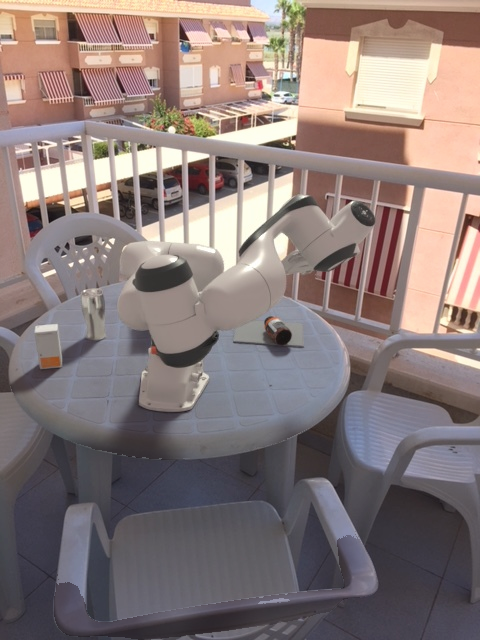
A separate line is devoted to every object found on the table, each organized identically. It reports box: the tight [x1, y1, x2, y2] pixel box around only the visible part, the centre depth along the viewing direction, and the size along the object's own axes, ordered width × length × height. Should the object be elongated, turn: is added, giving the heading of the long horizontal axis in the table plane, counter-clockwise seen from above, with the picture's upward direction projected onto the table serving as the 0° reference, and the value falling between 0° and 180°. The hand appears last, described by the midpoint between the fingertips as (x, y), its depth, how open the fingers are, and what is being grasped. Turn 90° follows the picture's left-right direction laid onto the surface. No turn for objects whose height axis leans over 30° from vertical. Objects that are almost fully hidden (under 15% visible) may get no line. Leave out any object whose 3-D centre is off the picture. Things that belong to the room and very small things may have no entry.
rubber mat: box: [232, 319, 305, 348], centre depth 168 cm, size 15×22×1 cm
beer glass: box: [80, 287, 107, 341], centre depth 159 cm, size 7×7×15 cm
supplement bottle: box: [263, 315, 292, 346], centre depth 163 cm, size 6×6×11 cm
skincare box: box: [33, 323, 63, 370], centre depth 145 cm, size 6×4×12 cm
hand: (304, 271), depth 140 cm, fingers closed
